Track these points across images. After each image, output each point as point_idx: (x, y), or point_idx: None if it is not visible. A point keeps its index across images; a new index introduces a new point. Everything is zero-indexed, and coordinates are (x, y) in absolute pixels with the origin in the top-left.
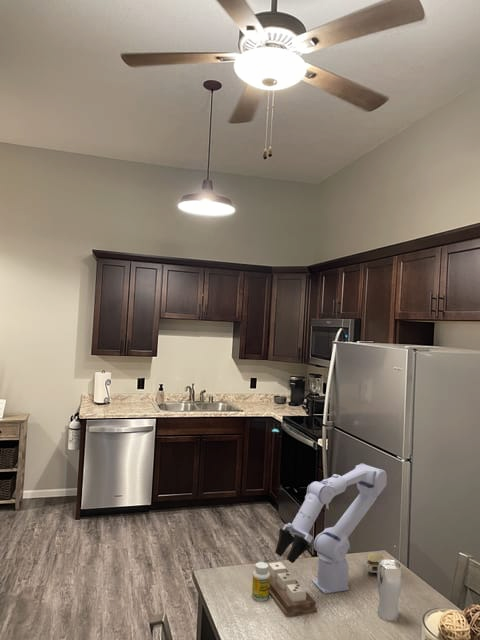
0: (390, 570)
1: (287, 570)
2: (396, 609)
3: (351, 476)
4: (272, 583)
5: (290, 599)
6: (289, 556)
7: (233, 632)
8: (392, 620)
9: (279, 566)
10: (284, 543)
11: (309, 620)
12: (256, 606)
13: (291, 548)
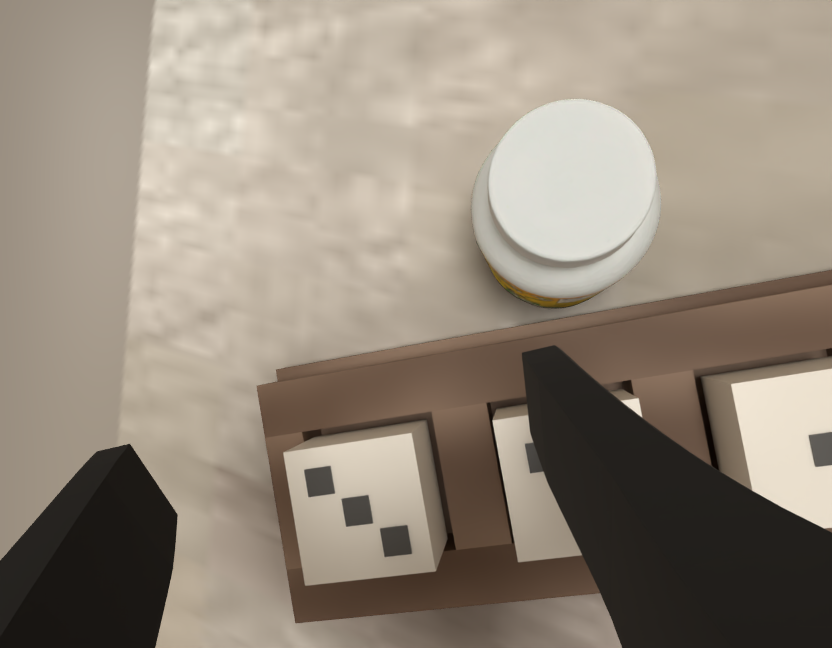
0: None
1: None
2: None
3: None
4: (601, 344)
5: (348, 432)
6: (61, 493)
7: (170, 8)
8: None
9: (808, 470)
10: (621, 582)
11: (242, 513)
12: (423, 189)
13: (6, 600)
